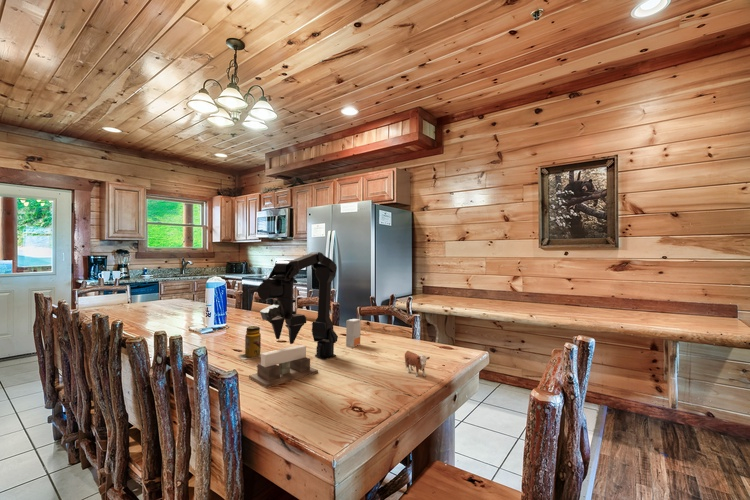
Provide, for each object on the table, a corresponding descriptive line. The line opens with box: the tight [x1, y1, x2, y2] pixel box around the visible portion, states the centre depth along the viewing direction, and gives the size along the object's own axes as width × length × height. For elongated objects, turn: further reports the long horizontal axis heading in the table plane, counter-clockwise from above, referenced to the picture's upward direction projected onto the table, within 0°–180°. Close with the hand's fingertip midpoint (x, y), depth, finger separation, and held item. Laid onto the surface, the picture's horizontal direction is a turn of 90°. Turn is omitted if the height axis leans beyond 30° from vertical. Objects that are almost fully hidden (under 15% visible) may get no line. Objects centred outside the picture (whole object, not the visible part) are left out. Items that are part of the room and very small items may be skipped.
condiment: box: [237, 325, 262, 361], centre depth 144 cm, size 7×8×12 cm
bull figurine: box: [404, 350, 431, 378], centre depth 123 cm, size 4×13×8 cm, turn 25°
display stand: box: [248, 356, 319, 389], centre depth 121 cm, size 20×12×5 cm, turn 135°
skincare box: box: [345, 318, 362, 348], centre depth 162 cm, size 6×4×12 cm
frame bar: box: [260, 344, 307, 367], centre depth 121 cm, size 16×3×4 cm, turn 135°
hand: (284, 341), depth 121 cm, fingers open, 9 cm apart
